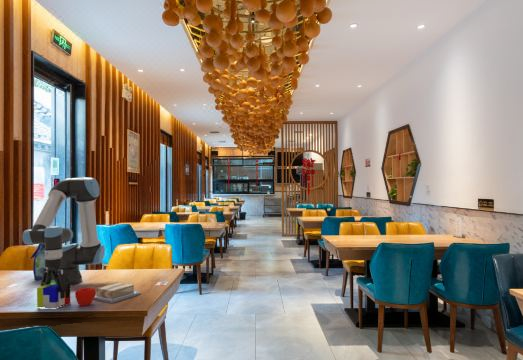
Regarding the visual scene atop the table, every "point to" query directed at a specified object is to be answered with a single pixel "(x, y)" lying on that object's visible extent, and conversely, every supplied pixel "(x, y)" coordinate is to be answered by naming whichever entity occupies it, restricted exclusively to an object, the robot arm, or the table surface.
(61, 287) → the robot arm
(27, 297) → the table surface
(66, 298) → the puzzle toy
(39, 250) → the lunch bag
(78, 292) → the apple
